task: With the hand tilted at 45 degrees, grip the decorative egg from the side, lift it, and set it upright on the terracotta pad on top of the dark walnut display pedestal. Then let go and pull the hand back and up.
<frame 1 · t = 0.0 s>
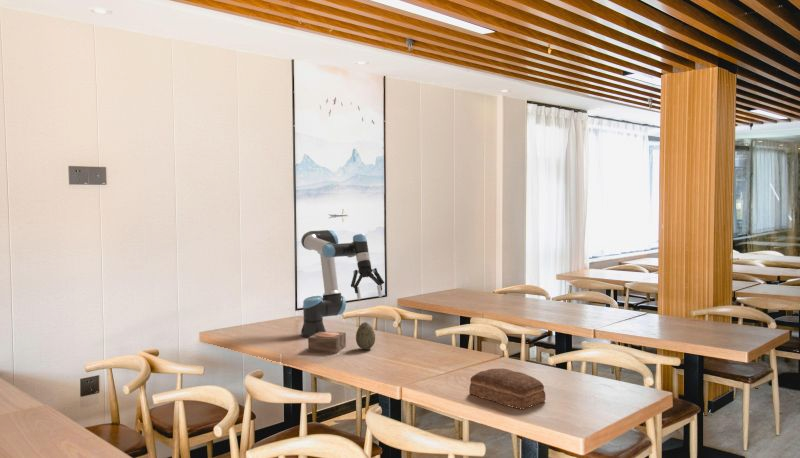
hand: (370, 297, 357), 28 cm above the table, fingers open, 13 cm apart
decorative egg: (365, 349, 353), on the table
bread: (506, 399, 264), on the table
pedestal: (327, 349, 354), on the table
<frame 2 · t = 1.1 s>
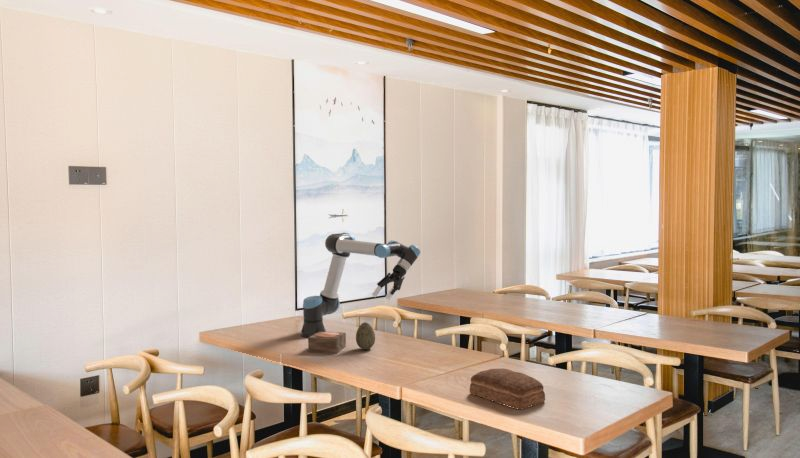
hand: (380, 297, 358), 28 cm above the table, fingers open, 13 cm apart
nothing on the table moved.
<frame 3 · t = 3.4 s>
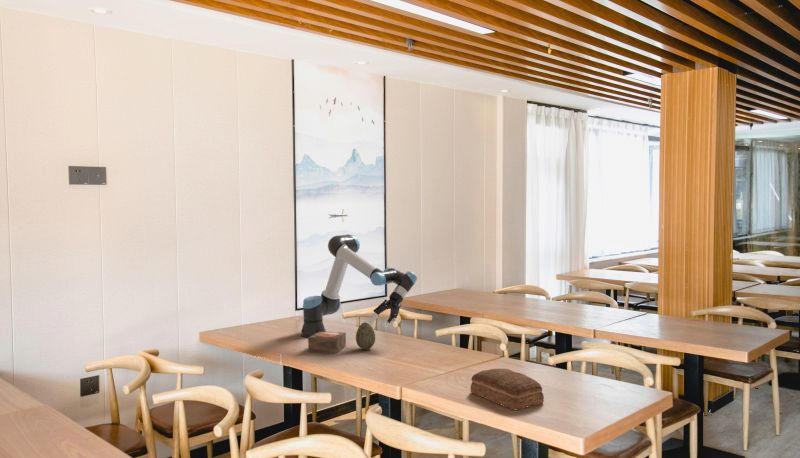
hand: (377, 325, 356), 13 cm above the table, fingers open, 13 cm apart
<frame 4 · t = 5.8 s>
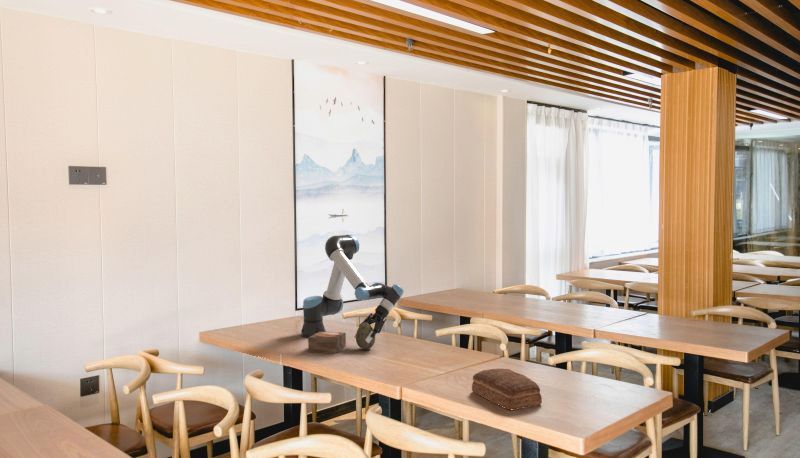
hand: (361, 340, 351), 6 cm above the table, fingers closed on decorative egg, 11 cm apart
decorative egg: (365, 349, 353), on the table, touching gripper
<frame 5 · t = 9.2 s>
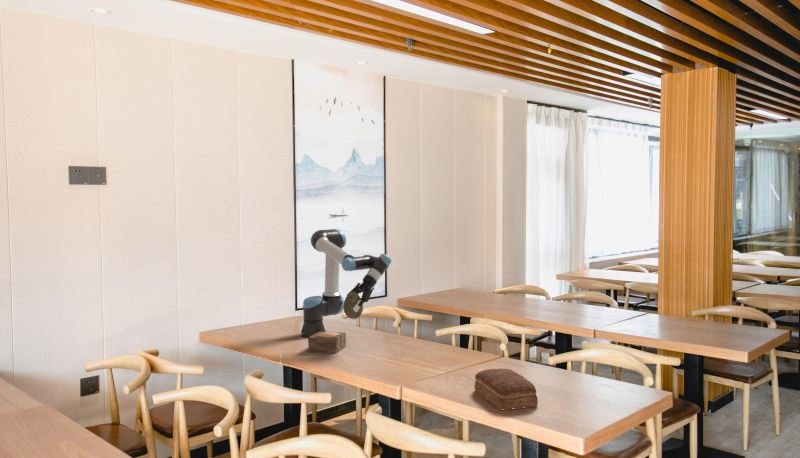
hand: (348, 309, 350), 23 cm above the table, fingers closed on decorative egg, 11 cm apart
decorative egg: (353, 319, 352), point 17 cm above the table, touching gripper
when the fingers open (15 cm above the table, at t = 12.4 s): decorative egg drops 1 cm, resting on pedestal.
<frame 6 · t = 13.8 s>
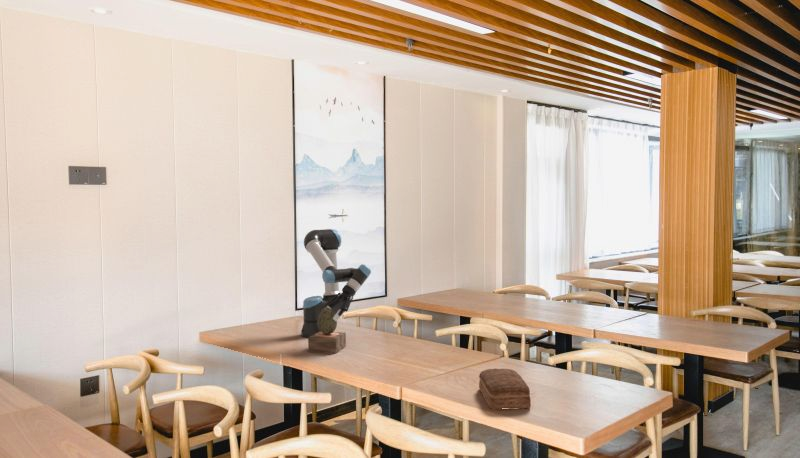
hand: (328, 318, 353), 17 cm above the table, fingers open, 13 cm apart
decorative egg: (327, 334, 354), point 8 cm above the table, touching pedestal
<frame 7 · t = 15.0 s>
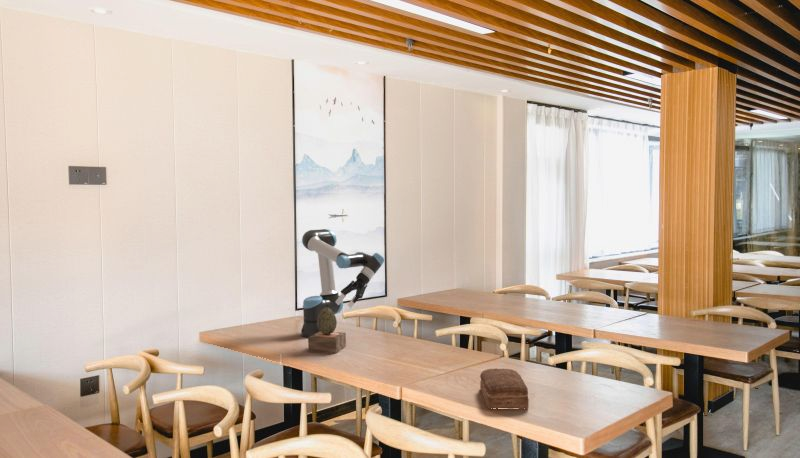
hand: (342, 305, 359), 24 cm above the table, fingers open, 13 cm apart
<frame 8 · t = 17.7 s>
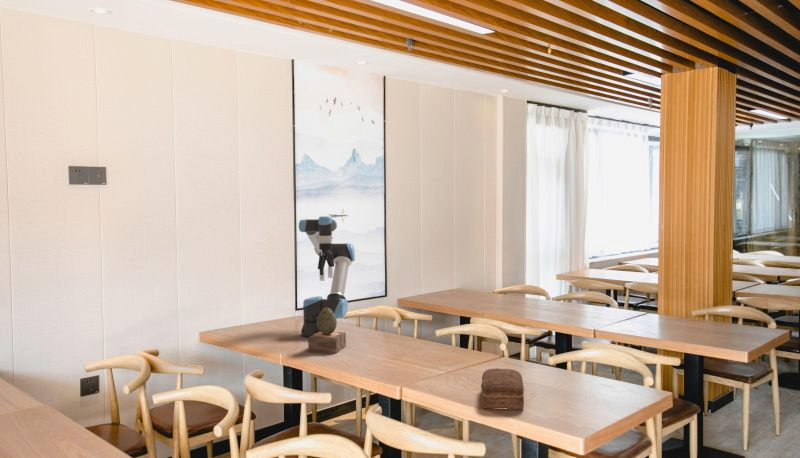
hand: (326, 279, 373), 37 cm above the table, fingers open, 13 cm apart
at the end: decorative egg inside the target area on the pedestal (0.1 cm from its centre), point 8.2 cm above the pedestal's base; decorative egg tilted 0°; the gripper is holding nothing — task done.
